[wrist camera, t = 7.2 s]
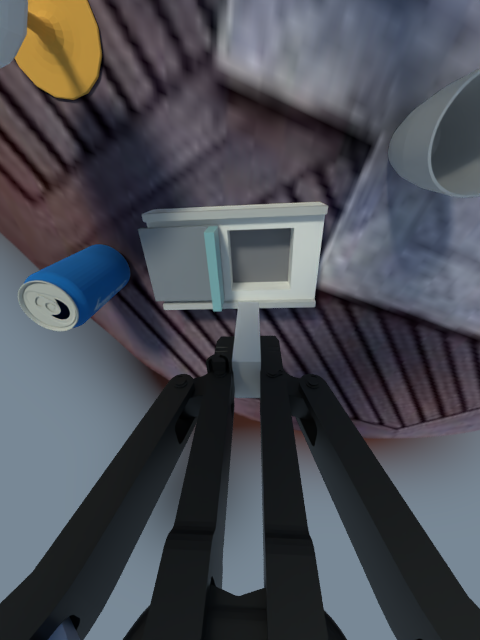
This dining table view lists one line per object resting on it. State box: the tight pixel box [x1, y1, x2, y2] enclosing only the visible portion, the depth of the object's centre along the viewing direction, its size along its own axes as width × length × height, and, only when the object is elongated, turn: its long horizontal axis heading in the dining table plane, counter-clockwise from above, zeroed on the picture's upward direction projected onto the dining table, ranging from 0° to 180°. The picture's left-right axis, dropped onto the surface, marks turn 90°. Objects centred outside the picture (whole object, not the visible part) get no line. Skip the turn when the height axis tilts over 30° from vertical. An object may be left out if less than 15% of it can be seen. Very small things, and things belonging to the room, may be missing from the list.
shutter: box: [138, 225, 225, 311], centre depth 29 cm, size 9×9×4 cm
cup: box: [388, 68, 480, 198], centre depth 21 cm, size 8×8×10 cm
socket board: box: [141, 202, 328, 310], centre depth 31 cm, size 12×20×4 cm, turn 93°
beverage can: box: [18, 244, 130, 331], centre depth 29 cm, size 6×6×12 cm
